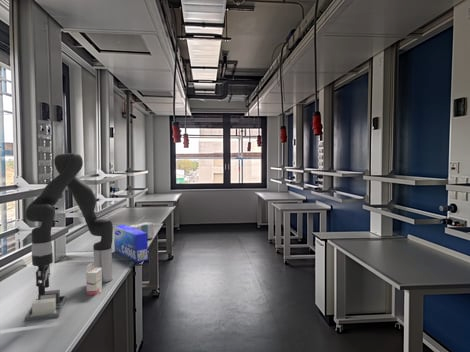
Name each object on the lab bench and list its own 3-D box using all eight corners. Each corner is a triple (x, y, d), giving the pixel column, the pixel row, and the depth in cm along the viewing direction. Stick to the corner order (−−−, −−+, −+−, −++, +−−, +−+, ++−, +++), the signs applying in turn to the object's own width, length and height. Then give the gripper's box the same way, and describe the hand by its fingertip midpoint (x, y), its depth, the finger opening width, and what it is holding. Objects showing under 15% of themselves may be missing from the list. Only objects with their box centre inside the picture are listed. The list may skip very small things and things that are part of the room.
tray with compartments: (36, 304, 160) (36, 299, 160) (66, 301, 164) (66, 295, 163) (24, 324, 141) (24, 317, 141) (58, 319, 145) (58, 313, 144)
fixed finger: (40, 303, 158) (40, 291, 158) (60, 301, 160) (59, 289, 160) (38, 307, 154) (37, 295, 154) (58, 305, 156) (58, 293, 156)
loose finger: (34, 313, 148) (34, 300, 148) (56, 310, 150) (55, 297, 150) (32, 317, 144) (31, 304, 144) (54, 314, 146) (53, 301, 146)
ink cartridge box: (97, 296, 169) (96, 266, 168) (86, 297, 168) (85, 266, 168) (102, 290, 177) (101, 261, 177) (92, 290, 177) (91, 261, 176)
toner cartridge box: (114, 251, 255) (113, 226, 254) (125, 249, 260) (124, 224, 260) (136, 263, 225) (135, 234, 224) (148, 260, 230) (147, 232, 229)
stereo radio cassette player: (135, 243, 278) (134, 218, 277) (127, 242, 282) (127, 217, 281) (154, 238, 296) (153, 214, 295) (147, 237, 300) (146, 214, 299)
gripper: (36, 249, 151) (37, 286, 152) (27, 258, 138) (29, 298, 139) (55, 247, 154) (57, 284, 155) (49, 256, 140) (50, 296, 141)
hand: (44, 291), depth 147 cm, fingers open, 8 cm apart
